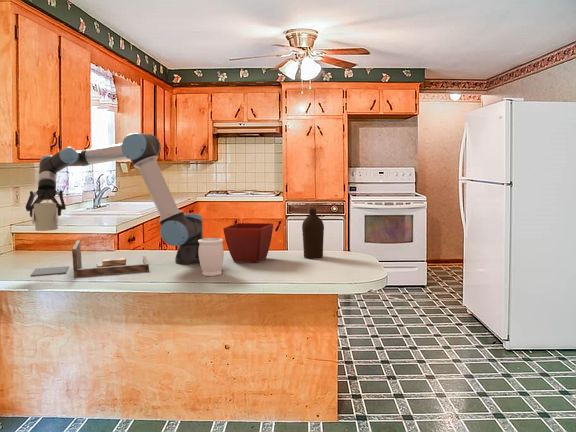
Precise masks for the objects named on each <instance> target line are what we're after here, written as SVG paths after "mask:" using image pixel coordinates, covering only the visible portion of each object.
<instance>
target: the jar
mask: <svg viewBox="0 0 576 432" xmlns="http://www.w3.org/2000/svg"><path fill="white" fill-rule="evenodd" d="M223 242H224V239H223V238H219V237H218V238H217V237H206V238H203V239H200V240H198V243H199V244H200V245H199V251H198V254H199V261H200V263H199V264H200V268H201V275H202V276H205V277H216V276H220V275H221V274H223V273H222V267H223V264H224V257H225V255H224V253H225V252H224V245H223Z"/></svg>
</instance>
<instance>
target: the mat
mask: <svg viewBox="0 0 576 432" xmlns="http://www.w3.org/2000/svg"><path fill="white" fill-rule="evenodd" d="M68 270H69V266H67V265H66V266H56V267H55V266H54V267H53V266H52V267H43V268H42V267H40V268H35V269H34V270H33V271H32V273H31V274H30V277H41V276H53V275H55V276H56V275H65V274H67V272H68Z"/></svg>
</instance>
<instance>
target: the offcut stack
mask: <svg viewBox="0 0 576 432" xmlns="http://www.w3.org/2000/svg"><path fill="white" fill-rule="evenodd" d="M101 262H102V263H97V264H96V268H98V267H111V266H124V265H127V257H122V258H121V257H120V258H106V259H102V261H101Z"/></svg>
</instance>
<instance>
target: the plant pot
mask: <svg viewBox="0 0 576 432" xmlns="http://www.w3.org/2000/svg"><path fill="white" fill-rule="evenodd" d="M273 228H274V223H269V222H267V223H264V222H263V223H262V222H261V223H260V222H257V223H256V222H255V223H254V222H238V223H234V224H231V225H228V226H226V227H225V226H224V227H223V234H224V239H225V243H226V245H227V248H228V251H229V254H230V257H231V259H232V261H233V262H234V263H259V262H261V261H263V260H265V259H266V258H267V256H268V253H269V250H270V247H271V246H270V245H271V243H272V242H271V241H272V236H273V231H274V230H273Z"/></svg>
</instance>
